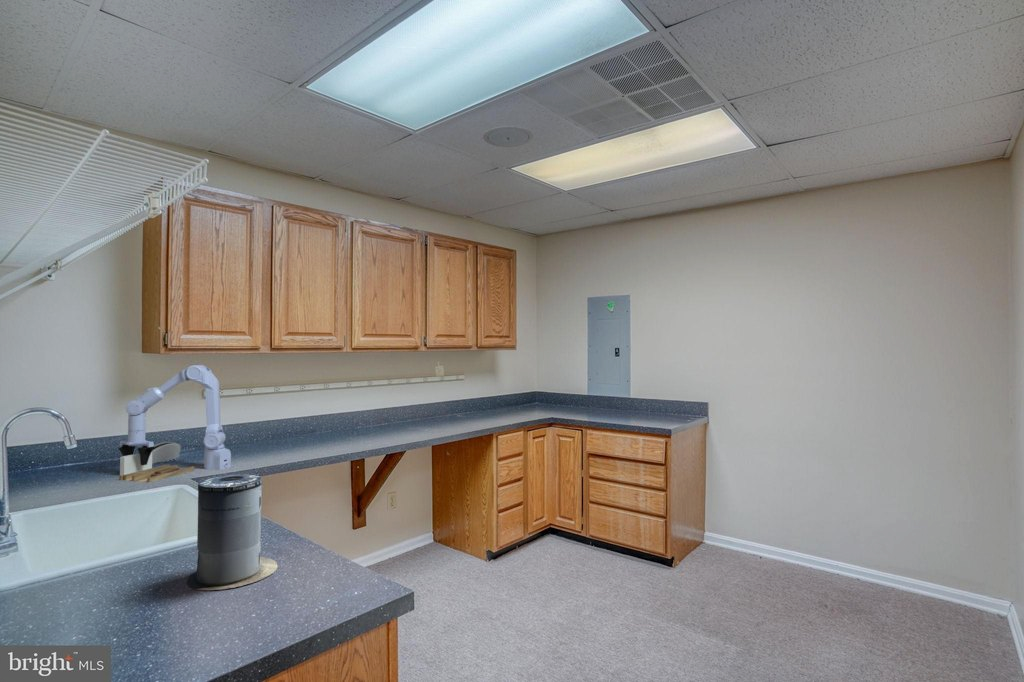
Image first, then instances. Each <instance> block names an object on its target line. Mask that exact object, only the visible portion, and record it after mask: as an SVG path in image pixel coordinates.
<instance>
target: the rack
mask: <svg viewBox="0 0 1024 682" xmlns="http://www.w3.org/2000/svg"><path fill="white" fill-rule="evenodd" d="M173 467H175V468H179V465H178V464H175V465H171V464H164V465H160V466H155V467H152V468H151V469H147V470H142V471H138V472H134V473H130V474H126V475H119V476H118V480H119V481H126V482H139V483H141V482H142V483H153V482H155V481H160V480H163V479H166V478H167V479H168V478H171V477H175V476H179V475H183V474H186V473H189V472H194V471H195V466H193V465H192V466H189V467H185V468H181V469H180V470H177V471H173V472H169V473H165V474H161V475H157V476H153V477H151V474H154V472H156V471H160V470H164V469H168V468H173Z"/></svg>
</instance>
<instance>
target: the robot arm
mask: <svg viewBox="0 0 1024 682" xmlns="http://www.w3.org/2000/svg"><path fill="white" fill-rule="evenodd" d="M188 381H192V382H195V383H198V384H199V385H201V386H203V387H204V389H205V391H204V392H205V409H206V410H205V411H206V412H205V415H206V428H205V436H204V438H203V441H202V443H203V446H204V448H203V449H204V455H203V456H204V457H203V461H204V464H203V466H204V467H203V469H204V470H208V471H211V470H215V471H217V470H218V471H221V470H222V471H223V470H224V469H228V468H231V466H232V464H231V463H232V453H231V450H230V449H229V448H226V447H225V444H224V443H225V440H226V438H227V437H226V433H225V432H224V430H223V429H224V428H223V426H222V422H221V399H220V382H219V379H218V378H217V377H216V376H215V374H214V373H213V372H212V370H211V368H209V367H207V366H205V365H204V364H198V365H196V364H195V365H190V366H188V367H187V368H185V369H183V370H180V371H179V372H178V373H177V374H175V375H174V376H173V377H171V378H170V379H169V380H167V381H166V382H165V383H162V385H160V386H158V387H155V386H153V387H150V388H147V389H146V392H145V393H143V394H142V395H137V396H136V397H135V399H136V400H130V401H129V402H128V403H127V405H126V407H125V411H126V413H127V414H128V415H127V416H128V417H127V418H128V419H127V421H128V422H127V440H120V441H119V446H120V447H118V450H119V451H120V453H121V454H122V457H123V456H128V455H133V454H134V452H135V449H136V447H138V448H137V450H138V453H139V454H140V463H141V465H147V463H148V459H149V456H150V454H151V452H152V451H153V449H154V447H153V446H154V445H155V444H154V441H151V440H146V430H147V429H146V428H147V427H146V426H147V424H146V423H147V422H146V421H147V416H146V415H147V411H148V410H149V409H151V407H153V406H154V405H156V404H158V403H159V402H160V401H162V400H163V399H165V394H166V393H168V392H169V391H171V390H172V389H174V388H175V387H177V386H178V385H180V384H181V383H184V382H188Z"/></svg>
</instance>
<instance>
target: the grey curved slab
mask: <svg viewBox="0 0 1024 682" xmlns="http://www.w3.org/2000/svg"><path fill="white" fill-rule="evenodd" d="M153 447H154V449H153V451H152V465H153V464H157V463H159V462H161V463H162V462H164V463H165V461H167V462H170V461H169V460H171V461H173V460H172V459H175V460H177V459H176V458H178V459H179V457H180V451H181V447H182V446H181V445H180V444H179V443H177V442H173V441H163V442H159V443H156V444H154V446H153Z"/></svg>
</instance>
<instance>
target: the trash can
mask: <svg viewBox="0 0 1024 682" xmlns="http://www.w3.org/2000/svg"><path fill="white" fill-rule="evenodd" d="M263 482H264V479H263V477H262V476H261V475H258V474H231V475H222V476H216V477H211V478H207V479H204V480H202V481H199V483H198V484H197V541H196V543H197V544H196V546H197V562H196V570H195V571H194V572H192V573H191V574H190V575H189V576H188V577H187V579H186V585H187V586H188V587H189V588H192V589H194V590H199V591H214V590H215V591H217V590H228V589H233V588H237V587H243V586H246V585H250V584H252V583H256V582H258V581H261V580H263V579H266V578H267V577H269V576H271V575H272V574H273V573H275V572H276V571H277V569H278V563H277V561H275V560H274V559H272V558H269V557H264V556H261V544H262V543H261V541H262V540H261V539H262V538H261V535H262V534H261V532H262V528H261V525H262V487H263V486H262V485H263Z"/></svg>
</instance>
